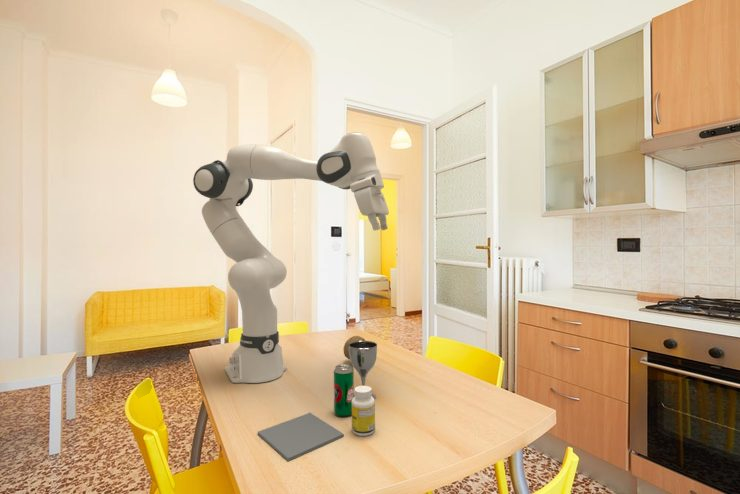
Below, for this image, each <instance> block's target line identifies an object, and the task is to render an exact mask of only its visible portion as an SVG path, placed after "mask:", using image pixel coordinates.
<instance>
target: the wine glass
mask: <svg viewBox="0 0 740 494" xmlns="http://www.w3.org/2000/svg"><path fill="white" fill-rule="evenodd" d="M377 355H378V343H377V342H375V341H371V340H366V341H355V342H352V343H350V344H349V356H350V360H349V361H350V365H351V366H352V368H354V370H355V371H356V372H357V373H358V375H359V377H360V380H361V381H360V382H361V386H366V378H367V375H368V374H369V373H370V371H371V370H372V369H373V368H374V366H375V364H376V360H377ZM371 396H372V397H373V398H374V400H376V399H377V396H376V394H374V393H372V395H371ZM354 397H355V394H354Z"/></svg>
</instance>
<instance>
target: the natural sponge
mask: <svg viewBox="0 0 740 494" xmlns="http://www.w3.org/2000/svg"><path fill="white" fill-rule="evenodd" d="M355 341H367V340H366V339H365V338H364V337H362V336H359V335H354V336H351V337H349V338H348V339H347V340H346V341H345V343H344V346H343V355H344V357H345V358H346V359H348V360H349V361H350V356H349V344H350V343H352V342H355Z"/></svg>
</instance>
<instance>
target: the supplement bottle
mask: <svg viewBox="0 0 740 494" xmlns="http://www.w3.org/2000/svg"><path fill="white" fill-rule="evenodd" d="M354 394H355V397H354V398H353V399H352V414H351V428H352V429H351V431H352V432H353V434H354V435H357V436H361V437H366V436H370V435H373V434H374V433H375V431H376V417H375V416H376V405H375V404H376V403H375V400H376V399H375V400H374V398H373V397H372V396H371V395H372V394H373V392H372V387H370V386H368V385H365V386H362V385H358V386H356V387H355V388H354Z"/></svg>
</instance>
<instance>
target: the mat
mask: <svg viewBox="0 0 740 494" xmlns="http://www.w3.org/2000/svg"><path fill="white" fill-rule="evenodd" d="M257 435H258V436H259V437H260V438H261V439H262V440H263V441H264V442H265V443H267V445H269V446H270V448H272V449H274V450H275V451H276V452H277V453H278V454H279V455H280V456H282V458H283V459H285V461H287V462H290V461H292V460H294V459H297V458H299V457H301V456H303V455H305V454H308V453H310V452H312V451H314V450H316V449H318V448H322V447H324V446H326V445H328V444H330V443H332V442H335V441H337V440H339V439H341V438H343V437H344V436H345V434H344V433H343V432H341V430H339V429H337V428H335V427H334V426H332V425H330V424H329V423H327V422H326V421H324V420H322V419H321V418H320V417H317V415H315V414H313V413H312V412H308V413H305V414H302V415H300V416H297V417H294V418H291V419H289V420H286V421H283V422H280V423H278V424H275V425H272V426H270V427H267V428H264V429H261V430H258V431H257Z"/></svg>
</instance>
